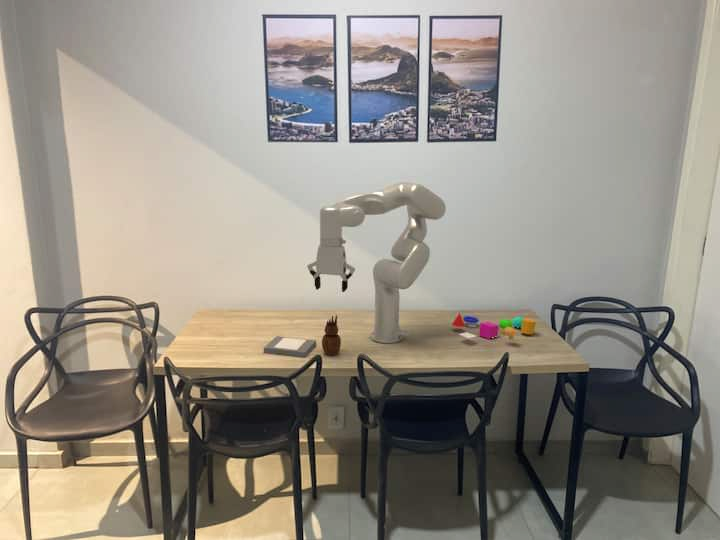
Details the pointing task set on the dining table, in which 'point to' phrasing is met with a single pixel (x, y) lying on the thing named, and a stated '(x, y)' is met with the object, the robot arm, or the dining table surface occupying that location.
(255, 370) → the dining table surface
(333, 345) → the wooden figurine
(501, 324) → the shape set
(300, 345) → the display base
